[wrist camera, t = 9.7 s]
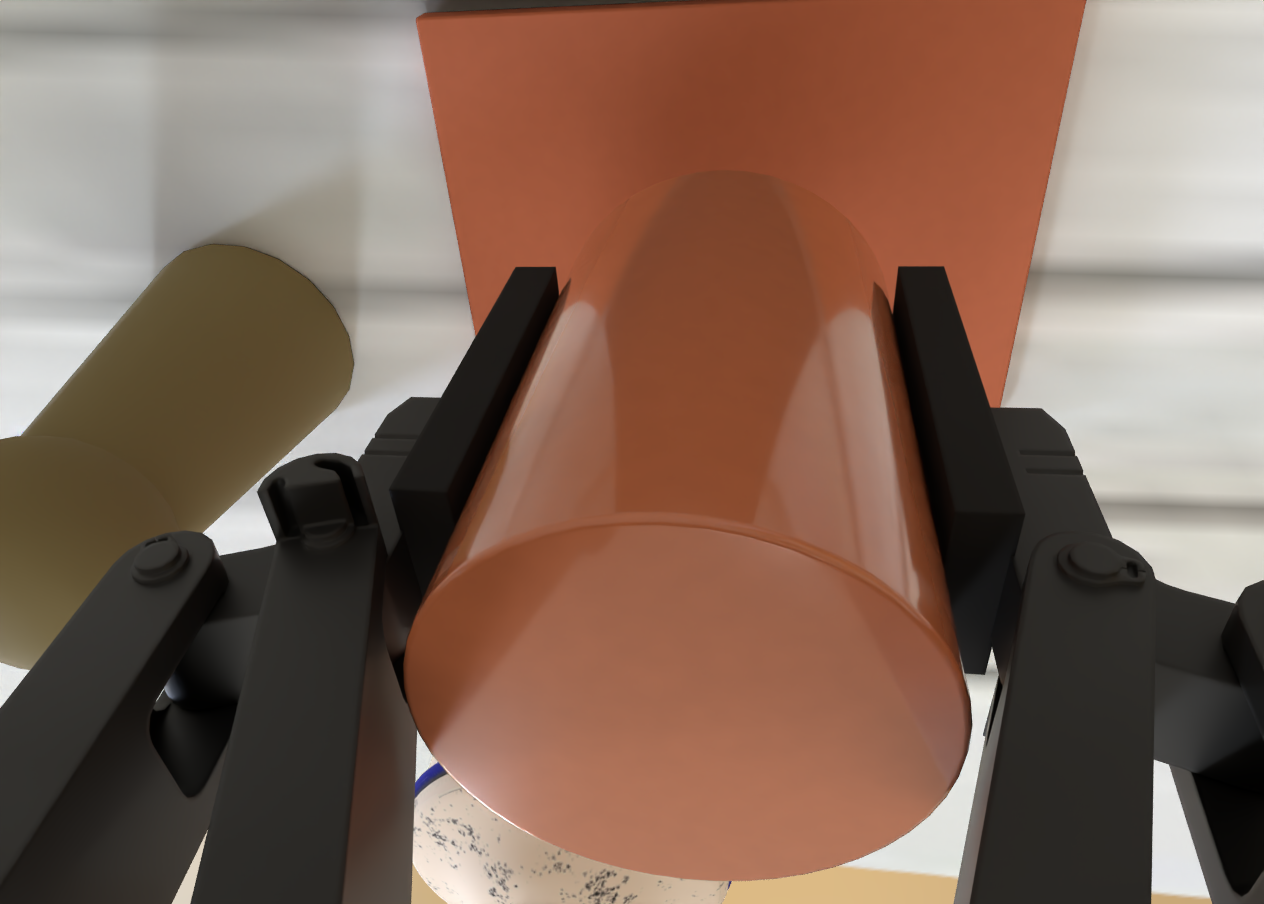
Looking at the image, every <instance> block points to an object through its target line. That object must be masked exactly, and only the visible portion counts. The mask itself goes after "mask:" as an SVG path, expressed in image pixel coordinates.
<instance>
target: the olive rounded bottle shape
mask: <svg viewBox="0 0 1264 904" xmlns="http://www.w3.org/2000/svg"><path fill="white" fill-rule="evenodd" d="M353 367H354V362H353V356H352V351H351V346H350V340H349V336H348V334H347V332H346V330H345V328H344V326H343V324H342V322H341V320H340V318H339V317H338V315H337V313H336V311H335V309H334V307H333V306H332V305H331V304H330V303H329V301H328V300H327V299H326V298H325V297H324V296H323V295H322V294H321V293H320V292H319V290H318V289H317V288H316V287H315V286H314V285H313V284H312V283H311V282H310V281H309V280H308V279H307V278H305V277H304V276H302V275H301V274H299V273H298V272H296V271H295V270H293V269H292V268H291V267H289V266H288V265H286V264H285V263H283V262H282V261H280V260H279V259H276V258H274V257H271V256H268V255H266V254H263V253H260V252H258V251H255V250H252V249H249V248H247V247H242V246H230V245H217V244H210V245H206V246H203V247H199V248H195V249H191V250H188V251H184V252H183V253H181V254H180V255H179V256H178V257H176V258H175V259H174V260H173V261H171V262H170V263H169V264H168V265H166V266H165V267H164V268H163V269H162V270H161V271H160V273H159V274H158V275H157V276H156V277H155V279H154V280H153V281H152V282H151V283H150V284H149V286H148V287H147V288H146V289H145V290H144V291H143V293H142V294H141V295H140V296H139V297H138V299H137V300H136V301H135V302H134V303H133V304H132V306H131V307H130V308H129V309H128V310H127V311H126V313H125V314H124V315H123V316H122V317H121V318H120V320H119V321H118V322H117V323H116V324H115V326H114V327H113V328H112V329H111V330H110V331H109V333H108V334H107V335H106V336H105V337H104V338H103V340H102V341H101V342H100V343H99V344H98V346H97V347H96V348H95V349H94V350H93V351H92V353H91V354H90V355H89V356H88V357H87V358H86V360H85V361H84V362H83V363H82V364H81V366H80V367H79V368H78V369H77V370H76V371H75V373H74V374H73V375H72V376H71V377H70V378H69V380H68V381H67V382H66V383H65V384H64V386H63V387H62V388H61V389H60V390H59V391H58V393H57V394H56V395H55V396H54V397H53V398H52V400H51V401H50V402H49V403H48V404H47V406H46V407H45V408H44V409H43V410H42V411H41V413H40V414H39V415H38V416H37V417H36V418H35V420H34V421H33V422H32V423H31V424H30V425H29V427H28V428H27V429H26V430H25V431H24V433H23V434H22V435H21V436H15V437H10V438H5V439H0V662H1V663H4V664H7V665H10V666H14V667H17V668H21V669H27V670H31V668H32V667H33V666H34V665H35V663H36V662H37V661H38V660H39V658H40V657H41V656H42V654H43V653H44V652H45V651H46V649H47V648H48V647H49V645H50V644H51V643H52V642H53V640H54V639H55V638H56V636H57V635H58V634H59V633H60V631H61V630H62V629H63V628H64V626H65V625H66V624H67V622H68V621H69V620H70V619H71V617H72V616H73V615H74V613H75V612H76V611H77V610H78V608H79V607H80V606H81V605H82V603H83V602H84V601H85V599H86V598H87V597H88V596H89V594H90V593H91V592H92V590H93V589H94V588H95V587H96V585H97V584H98V583H99V581H100V580H101V579H102V578H103V576H104V575H105V574H106V573H107V571H108V570H109V569H110V567H111V566H112V565H113V564H114V563H115V562H116V561H117V560H118V559H119V558H120V557H121V556H122V555H123V554H124V553H125V552H126V551H128V550H129V549H131V548H133V547H135V546H136V545H138V544H140V543H141V542H143V541H145V540H147V539H150V538H152V537H156V536H158V535H161V534H164V533H169V532H177V531H185V530H186V531H193V532H199V533H203V532H204V531H205V530H206V529H207V528H208V527H209V526H210V525H212V524H213V523H214V522H215V521H216V520H217V519H218V518H219V517H220V516H221V515H222V514H223V513H224V512H226V511H227V510H228V509H229V508H230V507H231V506H232V505H233V504H234V503H235V502H236V501H237V500H238V499H239V498H241V497H242V496H243V495H244V494H245V493H246V492H247V491H248V490H249V489H250V488H251V487H252V486H253V485H255V484H256V483H257V482H258V481H259V480H260V479H261V478H262V477H263V476H264V475H265V474H266V473H267V472H269V471H270V470H271V469H272V468H273V467H274V466H275V465H276V464H277V463H278V462H279V461H280V460H281V459H282V458H284V457H285V456H286V455H287V454H288V453H289V452H290V451H291V450H292V449H293V448H294V447H295V446H296V445H298V444H299V443H300V442H301V441H302V440H303V439H304V438H305V437H306V436H307V435H308V434H309V433H310V432H312V431H313V430H314V429H315V428H316V427H317V426H318V425H319V424H320V423H321V422H322V421H323V420H324V419H325V418H327V417H328V416H329V415H330V414H331V413H332V412H333V411H334V410H335V409H336V408H337V407H338V405H339V404H340V402H341V401H342V399H343V398H344V396H345V395H346V393H347V392H348V391H349V389H350V383H351V378H352V372H353Z"/></svg>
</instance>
